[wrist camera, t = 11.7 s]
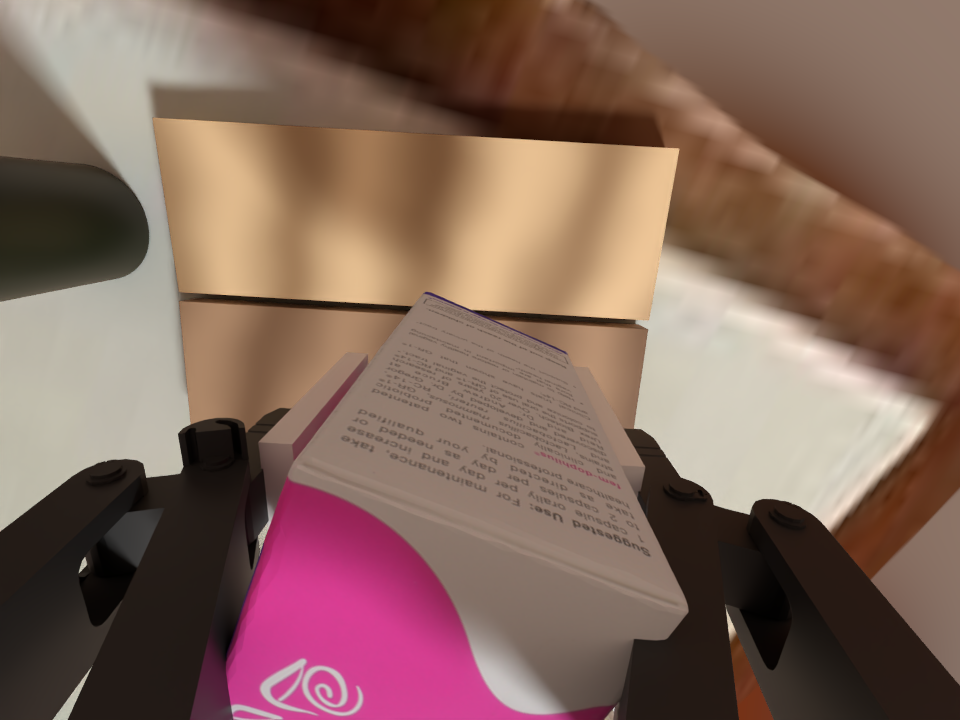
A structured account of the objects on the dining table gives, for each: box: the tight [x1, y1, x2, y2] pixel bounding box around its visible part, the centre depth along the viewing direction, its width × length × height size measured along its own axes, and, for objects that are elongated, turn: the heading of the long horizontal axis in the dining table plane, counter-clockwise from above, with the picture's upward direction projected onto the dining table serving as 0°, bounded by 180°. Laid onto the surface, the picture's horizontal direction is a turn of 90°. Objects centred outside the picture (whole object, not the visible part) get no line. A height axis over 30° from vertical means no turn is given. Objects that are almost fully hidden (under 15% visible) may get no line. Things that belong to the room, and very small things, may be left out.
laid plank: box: [153, 118, 679, 320], centre depth 23 cm, size 24×8×2 cm, turn 87°
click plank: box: [179, 298, 648, 432], centre depth 25 cm, size 24×8×2 cm, turn 87°
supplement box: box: [226, 292, 688, 720], centre depth 12 cm, size 6×6×12 cm
